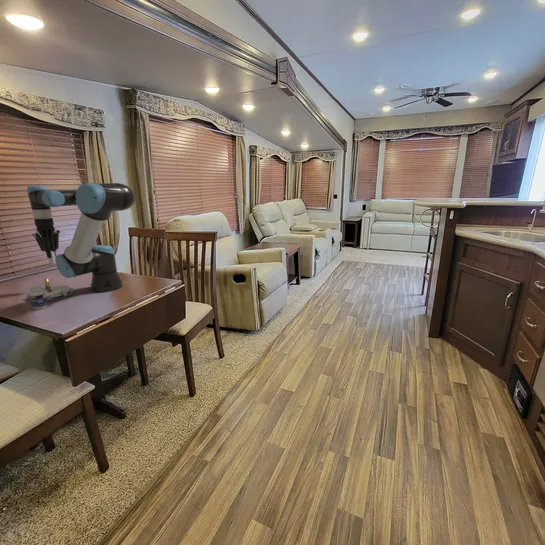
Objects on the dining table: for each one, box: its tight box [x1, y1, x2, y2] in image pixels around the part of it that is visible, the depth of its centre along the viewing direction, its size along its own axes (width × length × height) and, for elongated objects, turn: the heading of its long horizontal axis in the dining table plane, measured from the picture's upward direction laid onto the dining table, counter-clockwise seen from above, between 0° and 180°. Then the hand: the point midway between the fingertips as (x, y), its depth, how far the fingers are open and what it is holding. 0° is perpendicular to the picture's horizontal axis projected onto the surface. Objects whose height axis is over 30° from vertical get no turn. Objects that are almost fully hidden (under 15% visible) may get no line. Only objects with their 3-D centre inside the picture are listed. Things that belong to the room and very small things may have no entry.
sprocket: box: [26, 278, 74, 301], centre depth 146 cm, size 18×18×7 cm
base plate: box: [28, 291, 74, 303], centre depth 147 cm, size 18×18×1 cm
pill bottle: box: [28, 285, 48, 310], centre depth 132 cm, size 5×5×10 cm
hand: (53, 263), depth 153 cm, fingers closed
